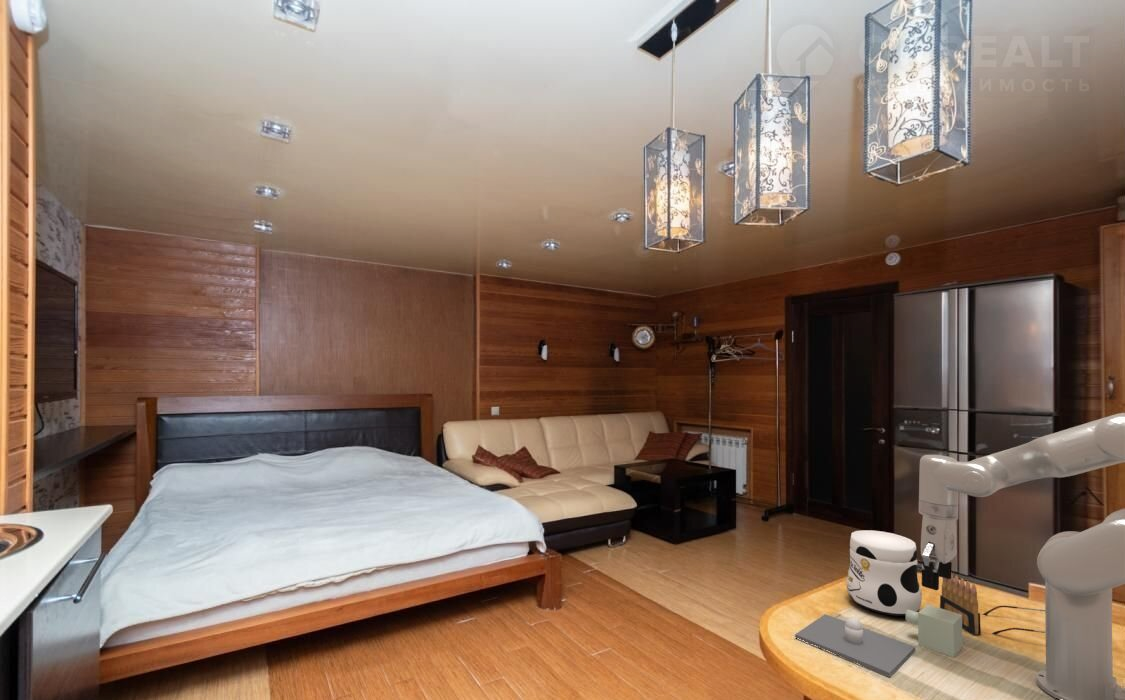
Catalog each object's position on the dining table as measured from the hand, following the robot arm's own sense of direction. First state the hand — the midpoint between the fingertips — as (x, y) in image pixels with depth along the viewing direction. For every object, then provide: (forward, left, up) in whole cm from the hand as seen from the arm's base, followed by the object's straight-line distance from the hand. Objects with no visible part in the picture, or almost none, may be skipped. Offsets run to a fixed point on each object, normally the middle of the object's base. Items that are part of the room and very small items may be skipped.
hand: (936, 582), depth 123 cm
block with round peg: (+1, 0, -14) cm, 14 cm away
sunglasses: (-12, -25, -15) cm, 31 cm away
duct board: (+12, +15, -14) cm, 24 cm away
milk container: (+15, -12, -15) cm, 24 cm away
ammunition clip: (-1, -16, -15) cm, 22 cm away
